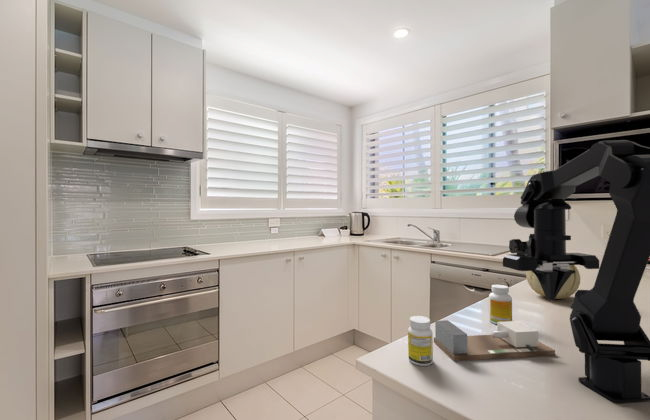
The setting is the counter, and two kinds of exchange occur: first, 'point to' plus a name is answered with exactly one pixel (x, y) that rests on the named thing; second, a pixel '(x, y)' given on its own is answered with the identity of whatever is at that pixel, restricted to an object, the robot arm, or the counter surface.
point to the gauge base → (495, 349)
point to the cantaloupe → (565, 291)
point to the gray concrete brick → (451, 337)
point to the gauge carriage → (516, 334)
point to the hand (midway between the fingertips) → (550, 300)
